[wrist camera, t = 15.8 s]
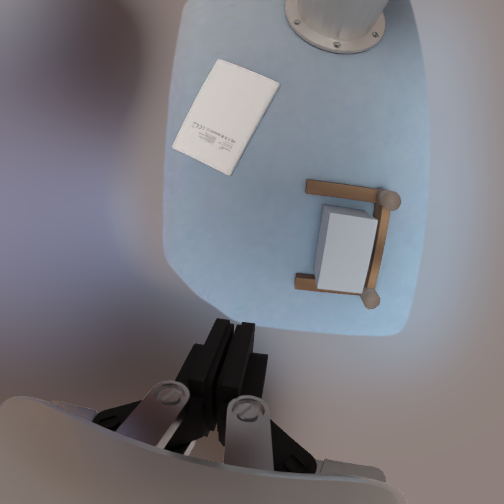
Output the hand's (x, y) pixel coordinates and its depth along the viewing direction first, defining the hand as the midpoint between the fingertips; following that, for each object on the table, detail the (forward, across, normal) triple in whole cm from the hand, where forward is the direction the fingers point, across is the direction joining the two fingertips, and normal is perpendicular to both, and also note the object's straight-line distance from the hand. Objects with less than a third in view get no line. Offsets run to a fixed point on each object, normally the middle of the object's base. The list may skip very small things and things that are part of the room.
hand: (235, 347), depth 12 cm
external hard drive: (+24, +6, -13) cm, 28 cm away
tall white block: (+23, -8, 0) cm, 24 cm away
